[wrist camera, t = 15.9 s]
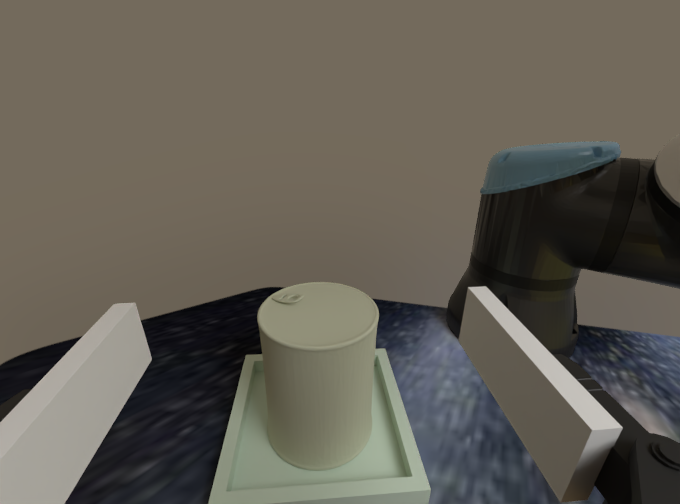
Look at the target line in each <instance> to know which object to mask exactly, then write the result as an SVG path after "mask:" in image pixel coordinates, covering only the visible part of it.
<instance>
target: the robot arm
mask: <svg viewBox="0 0 680 504" xmlns="http://www.w3.org/2000/svg"><path fill="white" fill-rule="evenodd" d="M620 154H621V151H620V145H619V144H618V143H616V142H605V141H604V142H603V141H600V142H568V143H553V144H540V145H530V146H521V147H514V148H508V149H504V150H502V151H500V152H498V153H496V154H495V155H494V156H493V157H492V158H491V160H490V162H489V164H488V168H487V173H486V177H485V180H484V185H483V187H482V188H481V191H480V192H481V193H482V195H481V201H480V207H479V212H478V218H477V224H476V230H475V235H474V242H473V247H472V252H471V258H470V263H469V267H468V268H467V270H466V272H465V273H464V275H463V277H462V278H461V280H460V282H459V284H458V286H457V287H456V289H455V291H454V293H453V294H452V296H451V297H450V300H449V303H448V309H447V316H446V317H447V322H448V325H449V327H450V329H451V330H452V331H453V333H454V334H455V335H456V336H457V337H458V338H459V343H460V344H461V346H462V347H463V349H464V351H465V352H466V354H467V355H468V357H469V359H470V360H471V362H472V363H473V365H474V366H475V368H476V370H477V371H478V373H479V374H480V376H481V377H482V379H483V381H484V382H485V384H486V385H487V387H488V389H489V390H490V392H491V393H492V395H493V396H494V398H495V400H496V401H497V403H498V404H499V406H500V408H501V409H502V411H503V412H504V414H505V415H506V417H507V419H508V420H509V422H510V423H511V425H512V427H513V428H514V430H515V431H516V433H517V434H518V436H519V438H520V439H521V441H522V442H523V444H524V446H525V447H526V449H527V450H528V452H529V453H530V455H531V457H532V458H533V460H534V461H535V463H536V465H537V466H538V468H539V469H540V471H541V472H542V474H543V476H544V477H545V479H546V480H547V482H548V483H549V485H550V487H551V488H552V490H553V491H554V493H555V495H556V496H557V498H558V499H559V501H560V502H561V503H562V502H572V501H581V500H588V498H589V496H590V494H591V492H592V490H593V488H594V486H596V487H597V489H598V490H599V491H600V493H601V494H602V495H603V497H604V498H605V500H604V502H603V504H680V443H678V442H676V441H674V440H672V439H670V438H668V437H665V436H661V435H658V434H651V433H649V432H648V431H646V430H645V429H644V428H643V427H642V426H641V425H640V424H639V423H638V422H637V421H636V420H635V419H634V418H633V417H632V416H631V415H630V414H629V413H628V412H627V411H626V410H625V409H624V408H623V407H622V406H621V405H620V404H619V403H618V402H617V401H615V400H614V399H613V398H612V397H611V396H610V395H609V394H608V393H607V392H606V391H603V389H602V387H601V386H600V385H599V384H598V383H597V382H596V381H595V380H592V378H591V376H590V375H589V374H588V373H587V372H586V371H585V370H583V369H582V368H581V367H580V366H579V365H578V364H577V363H575V362H573V361H572V360H570V359H569V358H570V357H571V355H572V354H573V351H574V348H575V345H576V343H577V340H578V334H579V330H578V324H577V309H576V297H575V286H576V283H577V280H578V277H579V273H580V271H581V269H587V270H593V271H597V272H601V273H607V274H612V275H617V276H622V277H627V278H632V279H636V280H641V281H646V282H651V283H656V284H660V285H665V286H669V287H674V288H679V289H680V134H678V135H677V136H675V137H674V138H672V139H671V140H670V141H668V142H667V144H666V145H664V147H663V148H662V150H661V151H660V152H659V154H658V156H657V158H656V159H655V160H648V159H629V158H618V157H620ZM151 360H152V358H151V354H150V351H149V348H148V344H147V341H146V337H145V334H144V330H143V327H142V324H141V320H140V317H139V313H138V310H137V307H136V303H118V304H114V305H113V306H112V307H111V308H110V309H109V310H108V311H107V312H106V313H105V314H104V315H103V316H102V317H101V318H100V319H99V320H98V321H97V322H96V323H95V324H94V326H92V327H91V328H90V329H89V330H88V332H87V333H86V334H85V335H84V336H83V337H82V338H81V339H80V340H79V341H78V342H77V343H76V344H75V345H74V346H73V347H72V348H71V349H70V350H69V351H68V352H67V353H66V354H65V355H64V357H63V358H62V359H61V360H60V361H59V362H58V363H57V364H56V365H55V366H54V367H53V368H52V369H51V370H50V371H49V372H48V373H47V374H46V375H45V376H44V377H43V378H42V379H41V380H40V381H39V383H38V384H37V385H36V386H35V387H34V388H33V389H26V390H22V391H21V392H19V393H18V394H16V395H15V396H14V397H12V398H11V399H9V400H8V401H6V402H5V403H3V404H2V405H1V406H0V504H65V502H66V500H67V499H68V497H69V495H70V494H71V492H72V490H73V489H74V487H75V486H76V484H77V482H78V481H79V479H80V477H81V476H82V474H83V472H84V471H85V469H86V467H87V466H88V464H89V462H90V461H91V459H92V457H93V456H94V454H95V453H96V451H97V449H98V448H99V446H100V444H101V443H102V441H103V439H104V438H105V436H106V434H107V433H108V431H109V429H110V428H111V426H112V424H113V423H114V421H115V420H116V418H117V416H118V415H119V413H120V411H121V410H122V408H123V406H124V405H125V403H126V401H127V400H128V398H129V396H130V395H131V393H132V391H133V390H134V388H135V386H136V385H137V383H138V382H139V380H140V378H141V377H142V375H143V373H144V372H145V370H146V368H147V367H148V365H149V363H150V362H151Z"/></svg>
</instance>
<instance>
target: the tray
mask: <svg viewBox="0 0 680 504" xmlns="http://www.w3.org/2000/svg"><path fill="white" fill-rule="evenodd" d="M371 414H372V431H371V435H370V438H369V440H368V442H367V444H366V446H365V447H364V449H363V450H362V451H361V452H360V453H359V454H358V455H357V456H356V457H355V458H354V459H352V460H351V461H350V462H348V463H346V464H344V465H342V466H340V467H337V468H334V469H330V470H320V471H314V470H306V469H302V468H298V467H296V466H294V465H291V464H289V463H288V462H286V461H285V460H284V459H282V458H281V457H280V456H279V455H278V454H277V453H276V451H275V450H274V449H273V447H272V445H271V443H270V440H269V437H268V432H267V421H268V411H267V398H266V387H265V377H264V366H263V357H262V354H257V355H246V357H245V360H244V364H243V368H242V372H241V376H240V380H239V384H238V388H237V392H236V396H235V400H234V404H233V408H232V412H231V416H230V420H229V423H228V427H227V431H226V435H225V439H224V443H223V447H222V451H221V455H220V459H219V463H218V467H217V471H216V475H215V479H214V482H213V486H212V490H211V494H210V498H209V502H208V504H428V503H429V497H430V492H431V489H430V486H429V483H428V479H427V476H426V473H425V470H424V467H423V464H422V461H421V458H420V455H419V452H418V449H417V446H416V443H415V439H414V436H413V433H412V430H411V427H410V424H409V421H408V418H407V415H406V412H405V409H404V406H403V402H402V399H401V396H400V393H399V390H398V387H397V384H396V381H395V378H394V375H393V372H392V369H391V366H390V362H389V359H388V356H387V353H386V350H385V349H375V359H374V373H373V388H372V406H371Z"/></svg>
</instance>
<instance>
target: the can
mask: <svg viewBox="0 0 680 504" xmlns="http://www.w3.org/2000/svg"><path fill="white" fill-rule="evenodd" d="M378 320H379V311H378V308H377V305H376V304H375V302H374V301H373V300H372V299H371V298H370V297H369V296H368V295H366V294H365V293H364V292H362V291H360V290H358V289H356V288H353V287H350V286H347V285H343V284H338V283H330V282H310V283H302V284H298V285H293V286H290V287H287V288H284V289H282V290H280V291H278V292H276V293H274V294H272V295H271V296H270V297H268V298H267V299H266V300H265V301H264V302H263V303H262V305H261V306H260V308H259V310H258V315H257V321H258V325H259V331H260V339H261V348H262V357H263V366H264V377H265V387H266V398H267V411H268V421H267V432H268V437H269V440H270V443H271V445H272V447H273V449H274V450H275V451H276V453H277V454H278V455H279V456H280V457H281V458H282V459H284V460H285V461H286V462H288V463H289V464H291V465H294V466H296V467H298V468H302V469H306V470H314V471H320V470H330V469H334V468H337V467H340V466H342V465H344V464H346V463H348V462H350V461H351V460H352V459H354V458H355V457H356V456H357V455H358V454H359V453H360V452H361V451H362V450H363V449H364V447H365V446H366V444H367V442H368V440H369V438H370V435H371V431H372V414H371V406H372V388H373V373H374V359H375V345H376V333H377V323H378Z"/></svg>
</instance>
